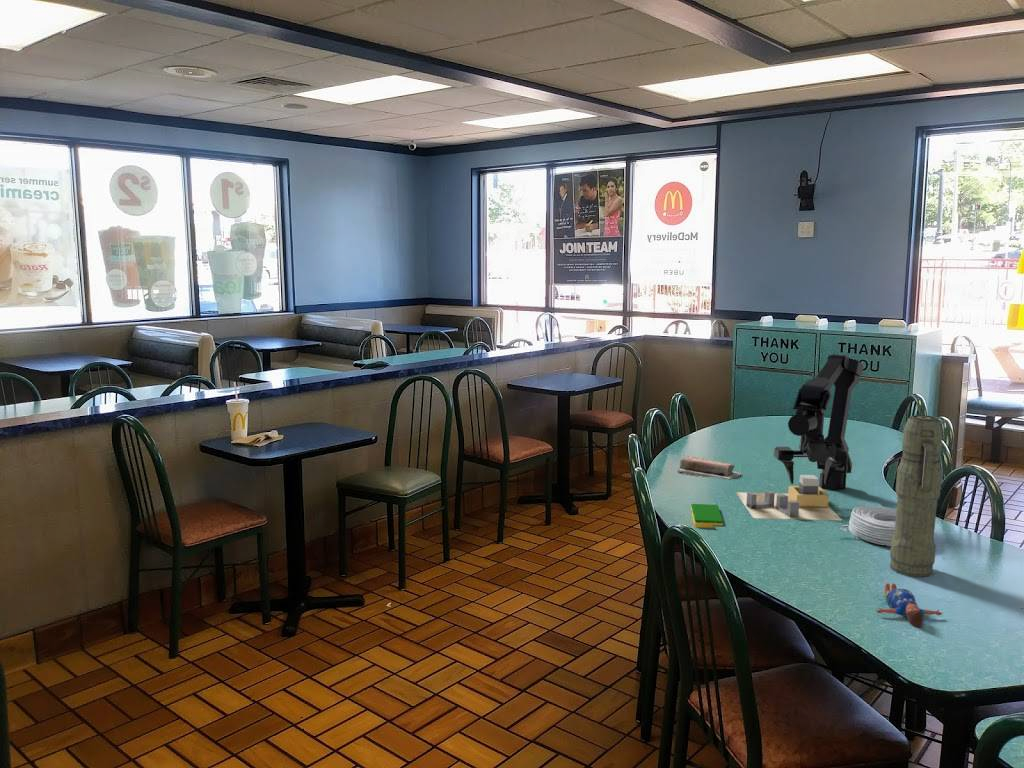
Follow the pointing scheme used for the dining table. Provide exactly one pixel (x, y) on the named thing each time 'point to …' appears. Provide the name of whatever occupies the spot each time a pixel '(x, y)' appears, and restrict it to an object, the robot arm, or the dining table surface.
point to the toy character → (905, 605)
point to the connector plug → (808, 484)
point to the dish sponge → (706, 515)
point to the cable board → (775, 514)
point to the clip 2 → (787, 506)
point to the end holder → (808, 498)
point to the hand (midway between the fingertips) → (808, 484)
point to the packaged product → (707, 468)
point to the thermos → (917, 497)
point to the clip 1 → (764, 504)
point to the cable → (873, 524)
